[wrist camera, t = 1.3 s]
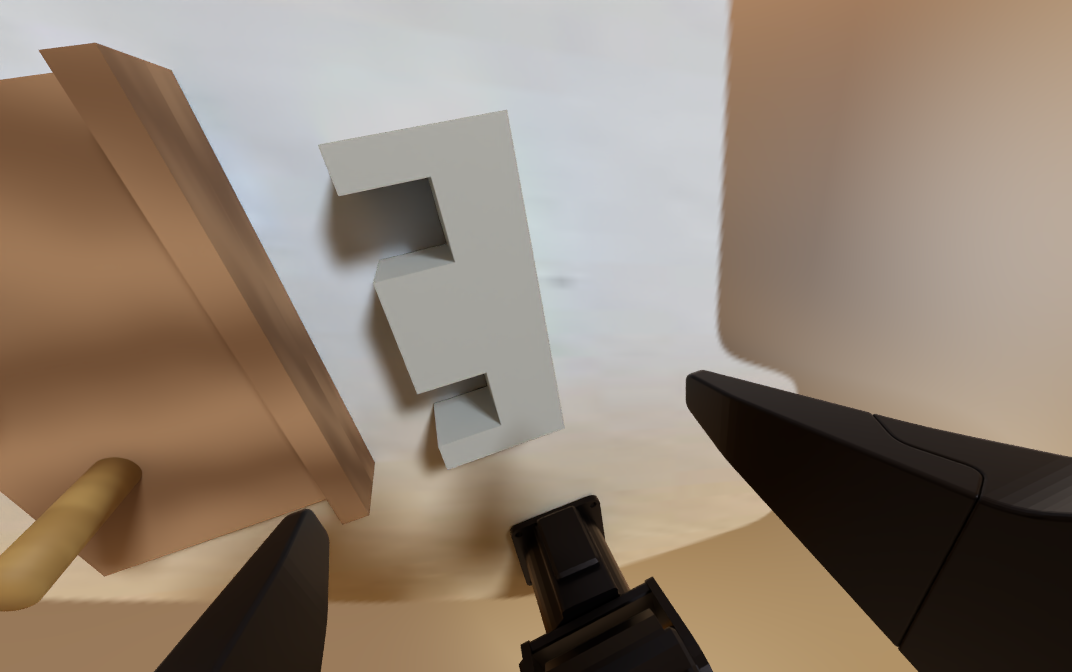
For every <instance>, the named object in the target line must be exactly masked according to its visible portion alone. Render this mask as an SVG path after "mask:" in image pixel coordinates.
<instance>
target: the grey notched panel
mask: <svg viewBox="0 0 1072 672" xmlns="http://www.w3.org/2000/svg"><path fill="white" fill-rule="evenodd" d="M318 146H319V149H320V151H321V154H322V156H323V159H324V161H325V164H326V166H327V169H328V171H329V174H330V176H331V179H332V182H333V184H334V187H335V189H336V192H337V194H338V196H342V195H347V194H352V193H356V192H361V191H366V190H371V189H375V188H380V187H385V186H390V185H394V184H399V183H404V182H409V181H413V180H418V179H423V178H428V180H429V184H430V187H431V190H432V194H433V197H434V201H435V204H436V208H437V211H438V215H439V218H440V222H441V225H442V229H443V232H444V236H445V239H446V243H447V244H443V245H439V246H435V247H431V248H427V249H423V250H419V251H415V252H411V253H407V254H403V255H399V256H394V257H390V258H386V259H382V260H379V263H378V267H377V271H376V274H375V278H374V282H373V284H374V287H375V289H376V292H377V294H378V297H379V299H380V302H381V304H382V307H383V309H384V312H385V315H386V317H387V320H388V322H389V325H390V327H391V330H392V332H393V335H394V337H395V340H396V342H397V345H398V347H399V350H400V352H401V355H402V357H403V360H404V362H405V365H406V367H407V370H408V372H409V375H410V377H411V380H412V382H413V385H414V387H415V390H416V392H417V394H420V393H424V392H427V391H430V390H433V389H436V388H440V387H443V386H446V385H449V384H452V383H455V382H459V381H462V380H465V379H468V378H471V377H475V376H478V375H481V374H484V375H485V379H486V382H487V386H488V387H484V388H481V389H478V390H475V391H472V392H469V393H466V394H463V395H459V396H456V397H453V398H450V399H447V400H444V401H441V402H438V403H435V404H434V412H435V421H436V430H437V440H438V448H439V450H440V453H441V455H442V458H443V460H444V463H445V465H446V468H447V470H449V469H452V468H455V467H457V466H460V465H463V464H466V463H469V462H472V461H474V460H477V459H480V458H483V457H486V456H488V455H491V454H494V453H497V452H500V451H502V450H505V449H508V448H511V447H514V446H517V445H519V444H522V443H525V442H528V441H531V440H533V439H536V438H539V437H542V436H545V435H548V434H550V433H553V432H556V431H559V430H562V429H564V428H565V427H564V421H563V416H562V410H561V405H560V399H559V394H558V388H557V383H556V377H555V372H554V366H553V361H552V355H551V350H550V344H549V339H548V333H547V327H546V322H545V316H544V311H543V305H542V300H541V294H540V289H539V283H538V278H537V272H536V267H535V261H534V256H533V250H532V245H531V239H530V234H529V228H528V223H527V217H526V212H525V206H524V201H523V195H522V190H521V184H520V179H519V173H518V168H517V162H516V157H515V151H514V146H513V140H512V135H511V129H510V124H509V118H508V113H507V110H503V111H498V112H493V113H487V114H482V115H477V116H471V117H466V118H460V119H455V120H450V121H444V122H439V123H433V124H428V125H423V126H417V127H412V128H406V129H401V130H396V131H390V132H385V133H379V134H374V135H369V136H363V137H358V138H352V139H347V140H342V141H336V142H331V143H326V144H320V145H318Z"/></svg>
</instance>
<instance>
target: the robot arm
mask: <svg viewBox="0 0 1072 672" xmlns="http://www.w3.org/2000/svg"><path fill="white" fill-rule="evenodd" d="M686 404H687V407H688V409H689V410H690V412H691V413H692V414H693V416H694V417H695V419H696V420H697V421H698V423H699V424H700V425H701V427H702V428H703V429H704V431H705V432H706V433H707V435H708V436H709V437H710V439H711V440H712V442H713V443H714V444H715V446H716V447H717V448H718V450H719V451H720V452H721V453H722V455H723V456H724V457H725V459H726V460H727V461H728V462H729V463H730V464H731V465H732V467H733V468H734V469H735V470H736V471H737V472H738V473H739V474H740V475H741V476H742V478H743V479H744V480H745V481H746V482H747V483H748V484H749V485H750V486H751V487H752V489H753V490H754V491H755V492H756V493H757V494H758V495H759V496H760V497H761V498H762V500H763V501H764V502H765V503H766V504H767V505H768V506H769V507H770V508H771V509H772V511H773V512H774V513H775V514H776V515H777V516H778V517H779V518H780V519H781V520H782V522H783V523H784V524H785V525H786V526H787V527H788V528H789V529H790V530H791V531H792V533H793V534H794V535H795V536H796V537H797V538H798V539H799V540H800V541H801V542H802V543H803V545H804V546H805V547H806V548H807V549H808V550H809V551H810V552H811V553H812V555H813V556H814V557H815V558H816V559H817V560H818V561H819V562H820V563H821V564H822V565H823V567H825V569H826V570H827V571H828V572H829V573H830V574H831V575H832V577H833V578H834V579H835V580H836V581H837V582H838V583H839V584H840V585H841V586H842V587H843V589H844V590H845V591H846V592H847V593H848V594H849V595H850V596H851V597H852V598H853V600H854V601H855V602H856V603H857V604H858V605H859V606H860V607H861V609H863V611H864V612H865V613H866V614H867V615H868V616H869V617H870V618H871V619H872V621H873V622H874V623H875V624H876V625H877V626H878V627H879V628H880V629H881V630H882V631H883V633H884V634H885V635H886V636H887V637H888V638H889V639H890V640H891V641H892V643H893V644H894V645H895V646H897V647H898V649H899V651H900V652H901V653H902V654H903V655H904V656H905V657H906V658H907V660H908V661H909V662H910V663H911V664H912V665H913V666H914V667H915V668H916V669H917V670H918V672H1072V457H1068V456H1062V455H1057V454H1053V453H1048V452H1043V451H1038V450H1034V449H1029V448H1024V447H1019V446H1014V445H1009V444H1004V443H999V442H995V441H990V440H985V439H981V438H975V437H971V436H966V435H962V434H957V433H952V432H947V431H943V430H939V429H933V428H929V427H925V426H921V425H917V424H913V423H909V422H904V421H901V420H897V419H893V418H889V417H885V416H881V415H877V414H873V415H872V414H871V413H869V412H865V411H862V410H857V409H854V408H850V407H846V406H842V405H838V404H834V403H830V402H826V401H823V400H819V399H814V398H811V397H806V396H803V395H799V394H795V393H791V392H787V391H784V390H780V389H776V388H772V387H768V386H764V385H760V384H756V383H752V382H749V381H745V380H741V379H737V378H733V377H729V376H725V375H721V374H717V373H713V372H710V371H706V370H699V371H697V372H694V373H691V374H689V375H688V376H687V378H686ZM510 533H511V536H512V540H513V543H514V546H515V549H516V552H517V555H518V558H519V561H520V564H521V567H522V570H523V573H524V577H525V580H526V583H527V585H529V586H531V585H533V589H534V592H535V596H536V599H537V602H538V606H539V609H540V613H541V616H542V620H543V623H544V627H545V630H546V634H544V635H542V636H540V637H539V638H537V639H535V640H533V641H531V642H530V641H527V642H525V643H523V644H521V651H522V658H523V660H522V661H521V662H520V664H519V667H520V672H713V671H712V669H711V667H710V665H709V663H708V661H707V659H706V658H705V656H704V654H703V652H702V650H701V649H700V647H699V645H698V644H697V642H696V641H695V639H694V637H693V636H692V634H691V633H690V631H689V630H688V628H687V627H686V625H685V624H684V622H683V621H682V619H681V618H680V616H679V615H678V613H677V612H676V611H675V609H674V607H673V606H672V605H671V603H670V602H669V600H668V599H667V597H666V596H665V594H664V593H663V592H662V590H661V588H660V587H659V585H658V584H657V582H656V581H655V579H654V578H653V577H650V578H649V579H647V580H645V583H643V584H641V585H639V586H637V587H635V588H633V589H632V590H630V588H629V587H628V584H627V582H626V581H625V579H624V577H623V575H622V573H621V571H620V569H619V567H618V565H617V563H616V561H615V559H614V557H613V555H612V553H611V551H610V549H609V547H608V545H607V543H606V541H605V536H604V529H603V522H602V515H601V507H600V502H599V500H598V498H597V496H595V495H591V496H588V497H586V498H583V499H581V500H578V501H576V502H573V503H571V504H568V505H566V506H563V507H560V508H558V509H555V510H553V511H550V512H548V513H545V514H543V515H540V516H538V517H535V518H533V519H530V520H527V521H525V522H522V523H520V524H517V525H515V526H513V527H512V528H511V530H510ZM328 580H329V537H328V534H327V532H326V530H325V529H324V527H323V526H322V524H321V523H320V521H319V520H318V518H317V517H316V515H315V514H314V513H313V511H312V510H310V509H303V510H300V511H297V512H295V513H292V514H289V515H287V516H286V517H285V518H284V519H283V520H282V521H281V523H280V524H279V525H278V526H277V527H276V528H275V530H274V531H273V532H272V533H271V534H270V536H269V537H268V538H267V539H266V540H265V541H264V543H263V544H262V545H261V546H260V547H259V548H258V550H257V551H256V552H255V553H254V554H253V556H252V557H251V558H250V559H249V560H248V561H247V563H246V564H245V565H244V566H243V567H242V569H241V570H240V571H239V572H238V573H237V574H236V576H235V577H234V578H233V579H232V580H231V582H230V583H229V584H228V585H227V586H226V587H225V589H224V590H223V591H222V592H221V593H220V594H219V596H218V597H217V598H216V599H215V600H214V602H213V603H212V604H211V605H210V606H209V608H208V609H207V610H206V611H205V612H204V613H203V615H202V616H201V617H200V618H199V619H198V621H197V622H196V623H195V624H194V625H193V626H192V627H191V629H190V630H189V631H188V632H187V633H186V635H185V636H184V637H183V638H182V639H181V640H180V642H179V643H178V644H177V645H176V646H175V648H174V649H173V650H172V651H171V652H170V653H169V655H168V656H167V657H166V658H165V659H164V661H163V662H162V663H161V664H160V665H159V666H158V668H157V669H156V670H155V671H154V672H321V665H322V657H323V650H324V642H325V634H326V625H327V612H328Z"/></svg>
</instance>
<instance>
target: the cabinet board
mask: <svg viewBox="0 0 1072 672" xmlns="http://www.w3.org/2000/svg"><path fill="white" fill-rule="evenodd" d="M39 52H40V53H41V55H42V56H43V58H44V59H45V61H46V63H47V64H48V66H49V67H50V69H51V70H52V72H53V73H47V74H40V75H33V76H25V77H18V78H11V79H3V80H0V491H1V492H2V493H3V494H4V495H6V496H7V497H8V498H9V499H10V500H12V501H13V502H14V503H15V504H17V505H18V506H19V507H20V508H21V509H23V510H24V511H25V512H26V513H28V514H29V515H30V516H31V517H32V518H34V519H35V520H36V521H35V522H34V523H33V524H32V525H31V526H30V527H29V528H28V529H27V530H26V531H25V532H24V533H23V534H22V535H21V536H20V537H19V538H18V539H17V540H16V541H15V542H14V543H13V544H12V545H11V546H10V547H9V548H8V549H7V550H6V551H5V552H4V553H2V554H1V555H0V611H16V610H21V609H25V608H28V607H30V606H32V605H34V604H36V603H38V602H39V601H40V600H41V599H42V597H43V596H44V595H45V594H46V593H47V591H48V590H49V589H50V588H51V587H52V585H53V584H54V583H55V582H56V581H57V579H58V578H59V577H60V576H61V574H62V573H63V572H64V571H65V570H66V568H67V567H68V566H69V565H70V564H71V562H72V561H73V560H74V559H75V558H76V556H77V555H79V556H80V557H81V558H82V559H84V560H85V561H86V562H87V563H89V564H90V565H91V566H92V567H93V568H95V569H96V570H97V571H98V572H100V573H101V574H102V575H103V576H107V575H110V574H113V573H116V572H119V571H121V570H124V569H127V568H130V567H133V566H136V565H139V564H142V563H144V562H147V561H150V560H153V559H156V558H159V557H162V556H165V555H167V554H170V553H173V552H176V551H179V550H182V549H185V548H188V547H190V546H193V545H196V544H199V543H202V542H205V541H208V540H211V539H214V538H216V537H219V536H222V535H225V534H228V533H231V532H234V531H237V530H239V529H242V528H245V527H248V526H251V525H254V524H257V523H260V522H262V521H265V520H268V519H271V518H274V517H277V516H280V515H283V514H285V513H288V512H291V511H294V510H297V509H300V508H303V507H306V506H308V505H311V504H314V503H317V502H320V501H323V500H326V499H327V501H328V502H329V504H330V506H331V507H332V509H333V510H334V512H335V513H336V515H337V516H338V518H339V520H340V521H341V523H342V524H345V523H348V522H351V521H354V520H357V519H359V518H362V517H365V516H368V515H369V512H370V503H371V494H372V484H373V475H374V466H375V462H374V460H373V458H372V456H371V454H370V453H369V451H368V449H367V447H366V445H365V443H364V441H363V439H362V437H361V435H360V433H359V431H358V429H357V427H356V426H355V424H354V422H353V420H352V418H351V416H350V414H349V412H348V410H347V408H346V406H345V404H344V402H343V400H342V398H341V397H340V395H339V393H338V391H337V389H336V387H335V385H334V383H333V381H332V379H331V377H330V375H329V373H328V371H327V370H326V368H325V366H324V364H323V362H322V360H321V358H320V356H319V354H318V352H317V350H316V348H315V346H314V344H313V343H312V341H311V339H310V337H309V335H308V333H307V331H306V329H305V327H304V325H303V323H302V321H301V319H300V317H299V316H298V314H297V312H296V310H295V308H294V306H293V304H292V302H291V300H290V298H289V296H288V294H287V292H286V290H285V288H284V287H283V285H282V283H281V281H280V279H279V277H278V275H277V273H276V271H275V269H274V267H273V265H272V263H271V261H270V260H269V258H268V256H267V254H266V252H265V250H264V248H263V246H262V244H261V242H260V240H259V238H258V236H257V234H256V233H255V231H254V229H253V227H252V225H251V223H250V221H249V219H248V217H247V215H246V213H245V211H244V209H243V207H242V205H241V204H240V202H239V200H238V198H237V196H236V194H235V192H234V190H233V188H232V186H231V184H230V182H229V180H228V178H227V177H226V175H225V173H224V171H223V169H222V167H221V165H220V163H219V161H218V159H217V157H216V155H215V153H214V151H213V150H212V148H211V146H210V144H209V142H208V140H207V138H206V136H205V134H204V132H203V130H202V128H201V126H200V124H199V123H198V121H197V119H196V117H195V115H194V113H193V111H192V109H191V107H190V105H189V103H188V101H187V99H186V97H185V95H184V94H183V92H182V90H181V88H180V86H179V84H178V82H177V80H176V78H175V76H174V74H173V72H172V70H169V69H167V68H164V67H161V66H158V65H156V64H153V63H150V62H147V61H144V60H142V59H139V58H136V57H133V56H131V55H128V54H125V53H122V52H120V51H117V50H114V49H111V48H109V47H106V46H103V45H100V44H97V43H90V44H82V45H74V46H66V47H58V48H51V49H43V50H39Z"/></svg>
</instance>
